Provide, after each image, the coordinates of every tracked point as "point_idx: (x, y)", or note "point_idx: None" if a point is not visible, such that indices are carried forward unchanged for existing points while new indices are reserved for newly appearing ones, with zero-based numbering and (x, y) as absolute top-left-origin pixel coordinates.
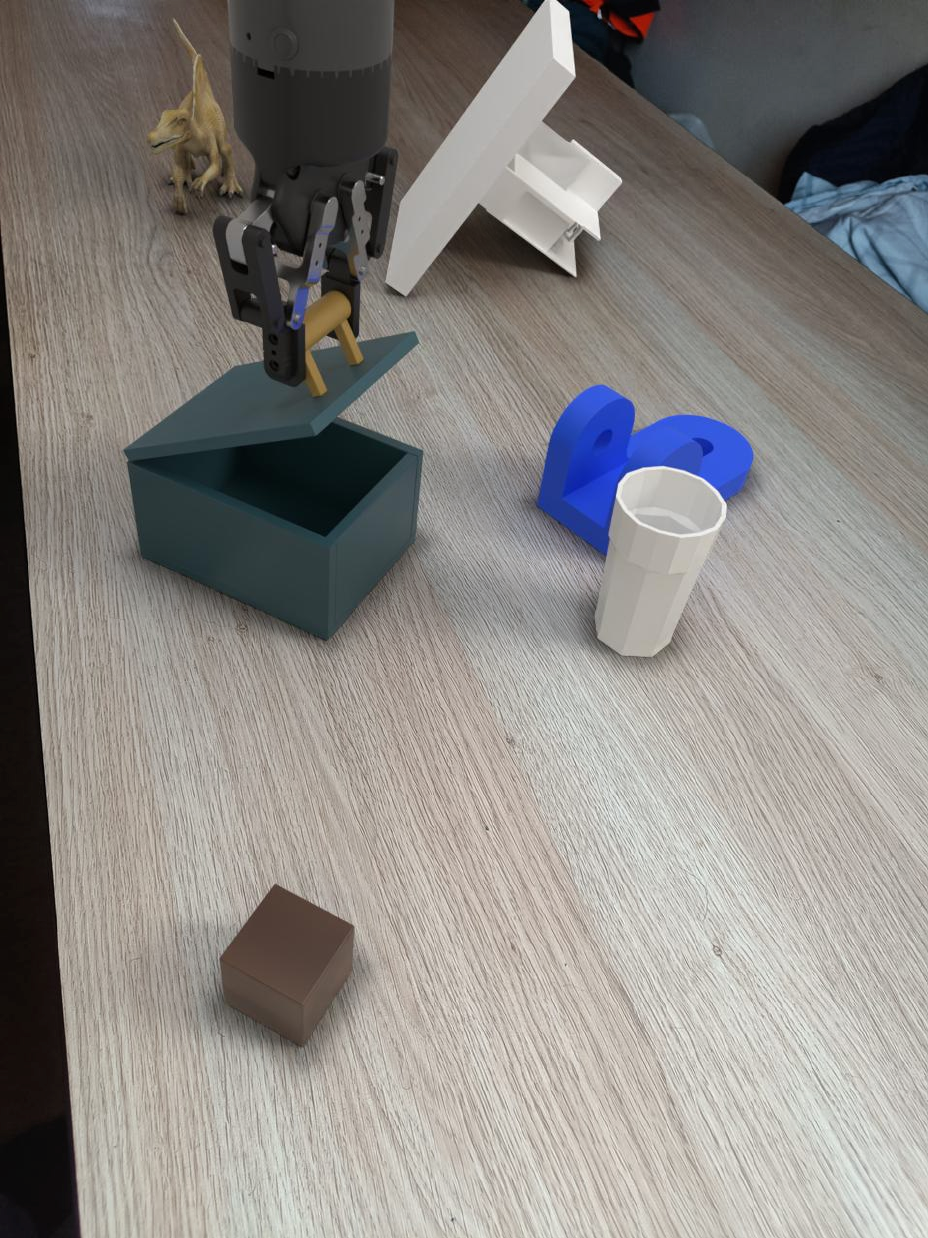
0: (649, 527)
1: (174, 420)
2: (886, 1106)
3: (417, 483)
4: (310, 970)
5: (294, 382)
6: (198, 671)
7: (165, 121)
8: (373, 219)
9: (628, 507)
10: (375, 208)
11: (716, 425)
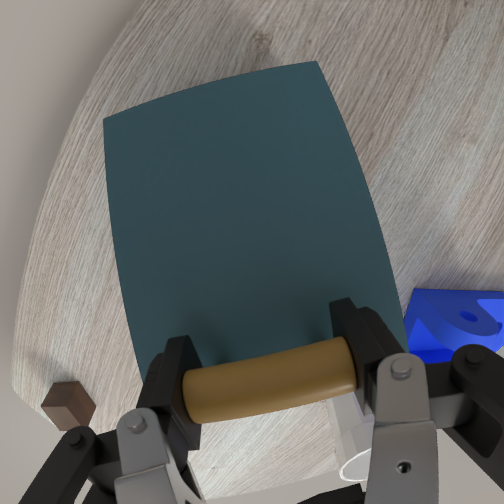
0: (341, 472)
1: (164, 120)
2: (211, 495)
3: None
4: (66, 428)
5: None
6: (113, 252)
7: None
8: (478, 457)
9: None
10: (492, 469)
11: None
